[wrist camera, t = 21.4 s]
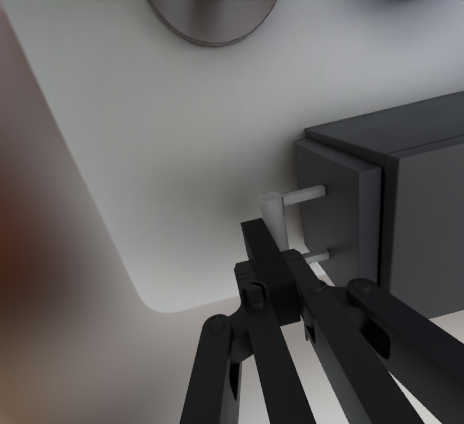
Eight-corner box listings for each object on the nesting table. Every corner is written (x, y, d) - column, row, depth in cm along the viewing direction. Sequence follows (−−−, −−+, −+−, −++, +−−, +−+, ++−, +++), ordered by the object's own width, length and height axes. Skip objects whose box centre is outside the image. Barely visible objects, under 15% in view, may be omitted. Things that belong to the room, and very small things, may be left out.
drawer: (260, 255, 24) (293, 334, 16) (241, 154, 20) (272, 193, 12) (451, 206, 25) (573, 260, 17) (469, 99, 21) (641, 102, 13)
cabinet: (313, 241, 26) (387, 331, 16) (304, 128, 21) (398, 158, 11) (465, 202, 26) (626, 266, 17) (488, 84, 22) (729, 77, 12)
